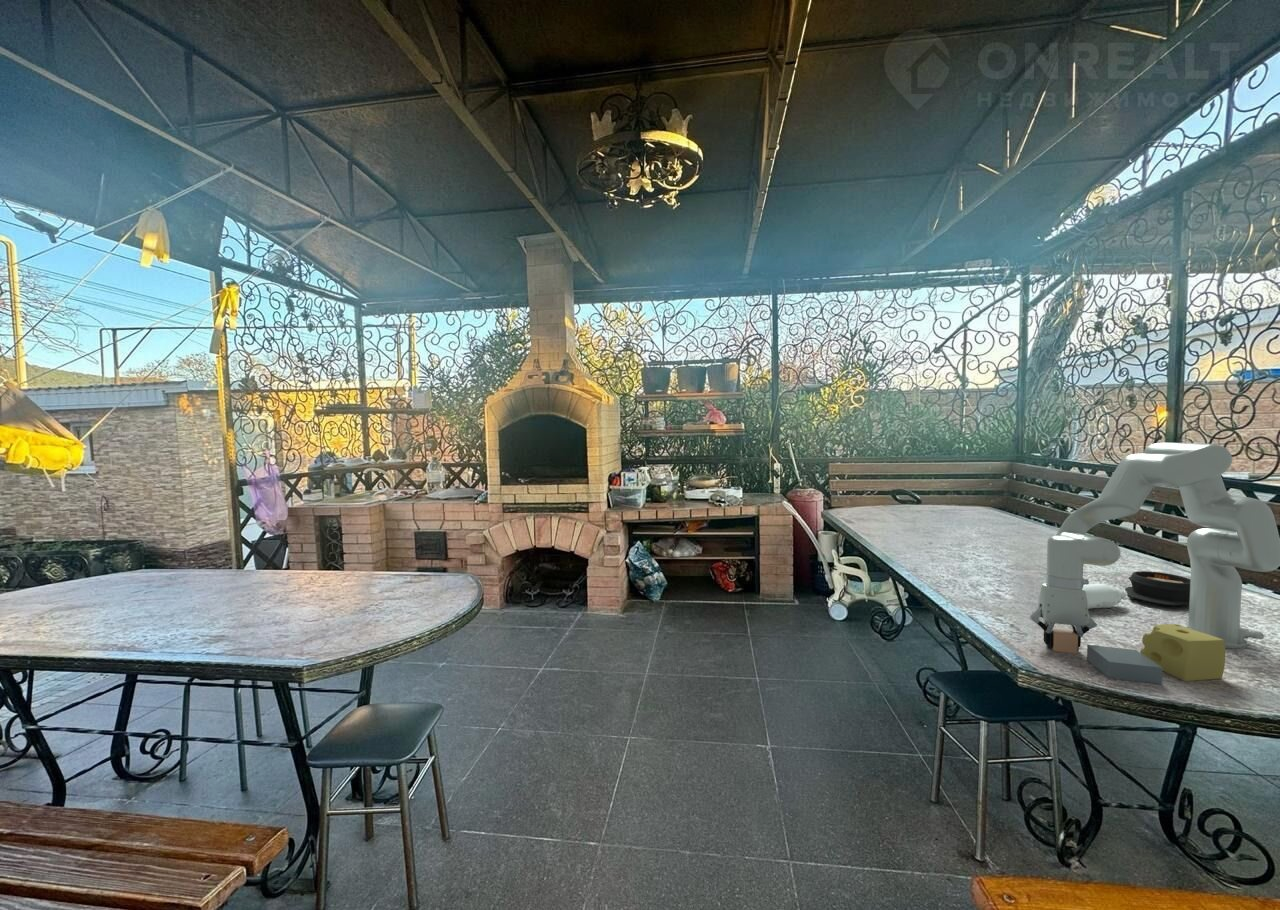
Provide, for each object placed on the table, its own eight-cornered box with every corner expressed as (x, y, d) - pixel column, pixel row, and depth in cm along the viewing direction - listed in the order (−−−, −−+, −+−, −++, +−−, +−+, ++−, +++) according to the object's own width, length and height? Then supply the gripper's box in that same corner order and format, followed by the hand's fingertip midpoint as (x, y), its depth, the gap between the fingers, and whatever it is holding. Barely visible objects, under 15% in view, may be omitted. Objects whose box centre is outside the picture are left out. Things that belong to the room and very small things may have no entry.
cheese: (1138, 662, 128) (1140, 624, 128) (1176, 660, 129) (1178, 622, 129) (1186, 682, 118) (1188, 641, 117) (1227, 680, 119) (1229, 639, 118)
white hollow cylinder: (1133, 610, 165) (1134, 586, 164) (1084, 613, 162) (1086, 589, 161) (1107, 602, 173) (1108, 579, 172) (1060, 605, 170) (1061, 582, 169)
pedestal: (1135, 665, 126) (1136, 649, 126) (1161, 684, 117) (1162, 667, 117) (1086, 659, 130) (1087, 644, 129) (1108, 677, 120) (1109, 661, 120)
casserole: (1140, 587, 188) (1141, 565, 187) (1213, 602, 171) (1214, 578, 171) (1111, 598, 176) (1112, 575, 176) (1186, 615, 160) (1187, 589, 159)
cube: (1068, 646, 138) (1068, 628, 138) (1077, 653, 133) (1078, 635, 133) (1046, 643, 139) (1047, 626, 139) (1054, 651, 135) (1055, 633, 134)
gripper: (1095, 581, 136) (1092, 646, 137) (1021, 575, 142) (1019, 638, 143) (1111, 589, 129) (1108, 657, 130) (1032, 583, 135) (1030, 648, 135)
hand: (1061, 646), depth 136 cm, fingers closed on cube, 5 cm apart
